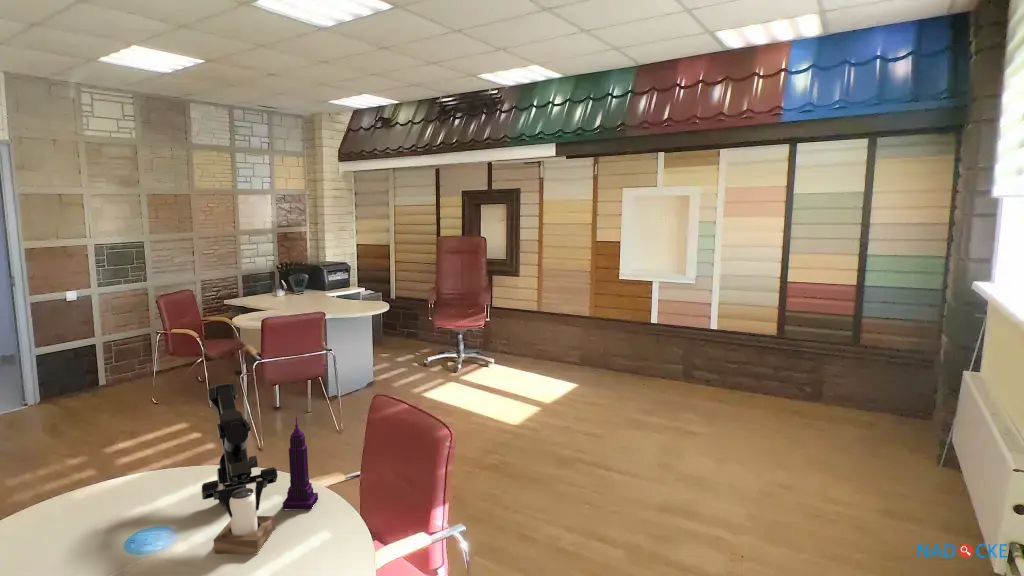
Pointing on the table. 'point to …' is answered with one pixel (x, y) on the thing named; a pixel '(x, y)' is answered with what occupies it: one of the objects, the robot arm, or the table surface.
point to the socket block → (244, 538)
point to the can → (243, 512)
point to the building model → (299, 474)
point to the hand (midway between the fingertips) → (244, 513)
